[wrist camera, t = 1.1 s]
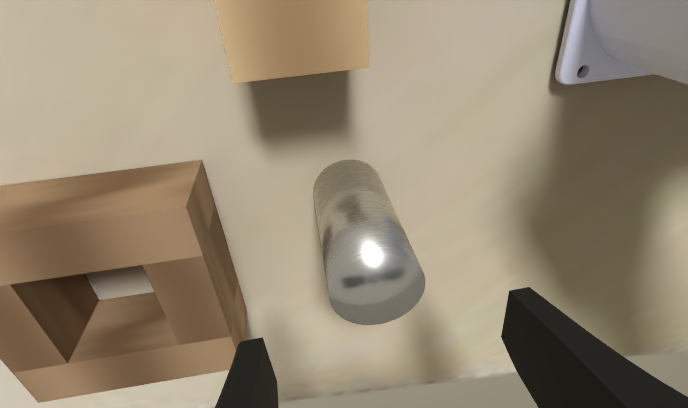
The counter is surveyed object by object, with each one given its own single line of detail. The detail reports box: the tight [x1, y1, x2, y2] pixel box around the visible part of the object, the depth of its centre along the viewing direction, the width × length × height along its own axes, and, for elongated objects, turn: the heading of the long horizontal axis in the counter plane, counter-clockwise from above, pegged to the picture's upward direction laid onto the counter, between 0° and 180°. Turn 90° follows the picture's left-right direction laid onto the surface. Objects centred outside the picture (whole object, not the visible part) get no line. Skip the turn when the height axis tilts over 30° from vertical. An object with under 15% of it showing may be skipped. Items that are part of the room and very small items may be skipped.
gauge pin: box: [313, 160, 425, 325], centre depth 16 cm, size 3×3×6 cm
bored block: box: [0, 160, 246, 403], centre depth 17 cm, size 9×9×4 cm
